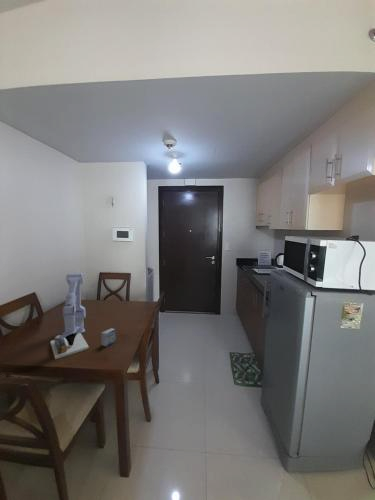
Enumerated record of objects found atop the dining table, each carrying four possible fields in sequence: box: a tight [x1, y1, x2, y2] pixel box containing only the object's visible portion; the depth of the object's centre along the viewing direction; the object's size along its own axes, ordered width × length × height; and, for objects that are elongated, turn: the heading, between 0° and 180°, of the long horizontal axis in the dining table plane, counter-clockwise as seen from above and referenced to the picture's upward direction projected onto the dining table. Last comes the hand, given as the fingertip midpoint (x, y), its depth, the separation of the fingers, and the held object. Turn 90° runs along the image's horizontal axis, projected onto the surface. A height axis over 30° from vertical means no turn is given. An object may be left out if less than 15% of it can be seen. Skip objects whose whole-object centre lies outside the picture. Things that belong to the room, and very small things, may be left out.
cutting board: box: [50, 333, 90, 360], centre depth 137 cm, size 22×18×2 cm
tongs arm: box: [54, 334, 67, 352], centre depth 133 cm, size 16×4×4 cm, turn 37°
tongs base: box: [53, 338, 62, 354], centre depth 133 cm, size 17×5×3 cm, turn 38°
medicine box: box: [100, 327, 117, 347], centre depth 140 cm, size 8×4×9 cm, turn 151°
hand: (70, 345), depth 134 cm, fingers closed
